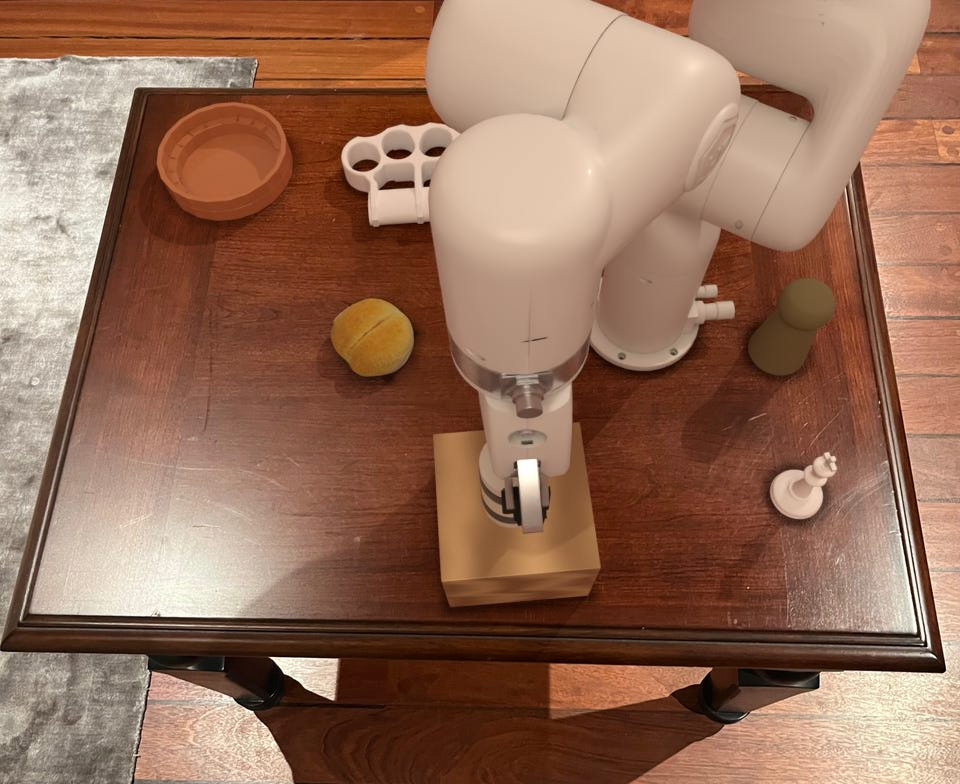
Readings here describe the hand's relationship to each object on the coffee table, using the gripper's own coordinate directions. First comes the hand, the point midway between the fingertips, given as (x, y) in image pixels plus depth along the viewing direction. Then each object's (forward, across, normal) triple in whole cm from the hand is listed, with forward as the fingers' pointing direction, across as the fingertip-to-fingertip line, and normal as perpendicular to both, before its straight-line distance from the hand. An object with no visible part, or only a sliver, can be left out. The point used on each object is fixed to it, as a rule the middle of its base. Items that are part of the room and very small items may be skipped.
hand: (518, 443), depth 57 cm
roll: (+11, -1, +1) cm, 11 cm away
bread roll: (+23, +22, +14) cm, 34 cm away
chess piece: (+23, +1, -27) cm, 36 cm away
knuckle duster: (+23, +44, +8) cm, 50 cm away
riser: (+22, -1, +1) cm, 22 cm away
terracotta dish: (+23, +47, +31) cm, 61 cm away
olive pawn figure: (+23, +17, -29) cm, 41 cm away
